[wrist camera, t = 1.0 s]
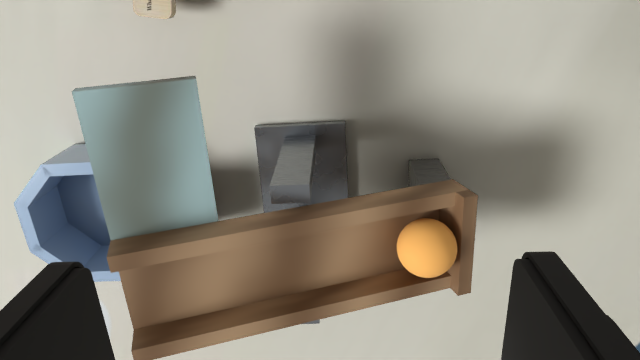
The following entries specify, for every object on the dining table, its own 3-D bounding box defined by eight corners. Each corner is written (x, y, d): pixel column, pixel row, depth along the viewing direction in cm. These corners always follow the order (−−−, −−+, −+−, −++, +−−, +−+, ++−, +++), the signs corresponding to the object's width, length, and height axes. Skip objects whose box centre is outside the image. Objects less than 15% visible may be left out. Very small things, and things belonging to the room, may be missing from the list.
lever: (451, 48, 24) (488, 56, 22) (441, 263, 29) (470, 292, 27) (75, 88, 20) (59, 103, 17) (138, 332, 25) (133, 375, 22)
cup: (160, 139, 32) (137, 159, 29) (181, 248, 36) (163, 279, 32) (38, 146, 33) (1, 166, 29) (70, 252, 36) (40, 283, 32)
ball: (442, 204, 27) (470, 230, 24) (440, 253, 28) (466, 284, 25) (388, 212, 26) (410, 240, 23) (388, 262, 27) (409, 294, 24)
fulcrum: (440, 115, 31) (478, 163, 23) (435, 247, 35) (466, 329, 27) (163, 129, 32) (104, 180, 24) (188, 256, 36) (144, 338, 28)
